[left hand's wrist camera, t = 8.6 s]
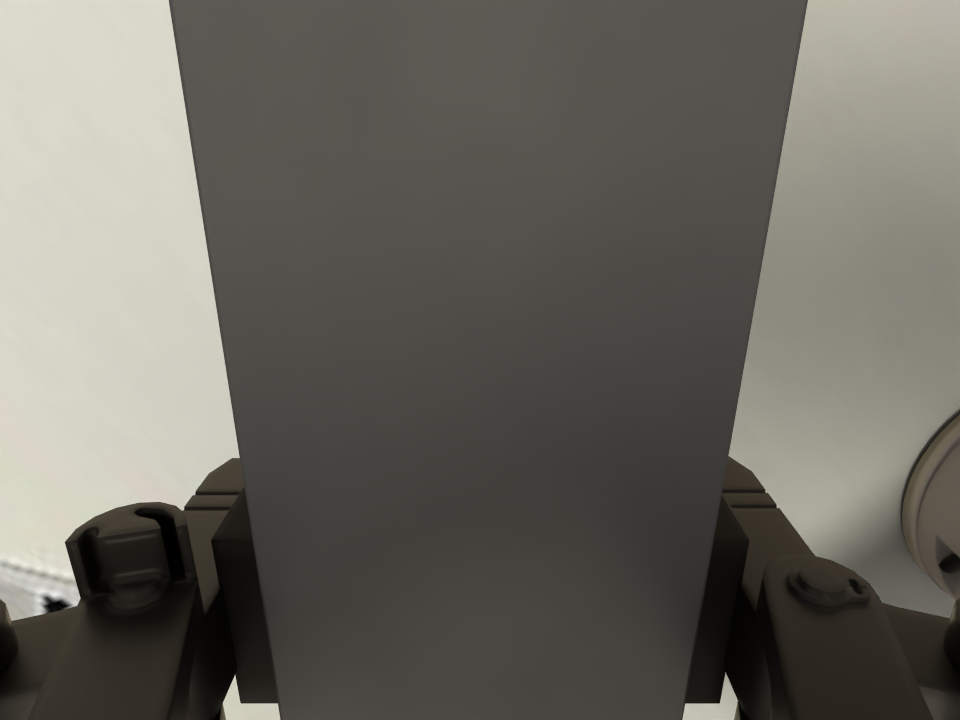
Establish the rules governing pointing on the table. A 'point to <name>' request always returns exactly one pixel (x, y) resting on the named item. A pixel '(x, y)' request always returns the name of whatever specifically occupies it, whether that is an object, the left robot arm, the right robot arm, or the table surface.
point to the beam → (485, 332)
